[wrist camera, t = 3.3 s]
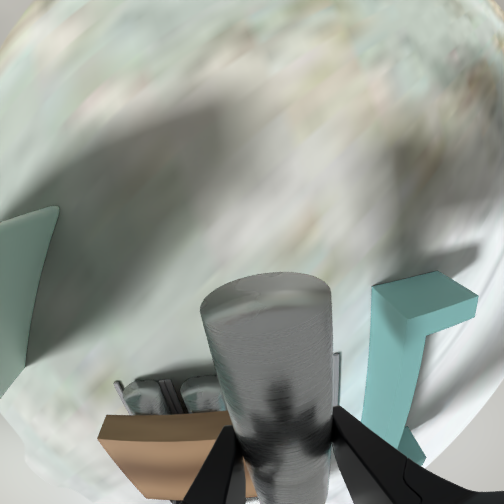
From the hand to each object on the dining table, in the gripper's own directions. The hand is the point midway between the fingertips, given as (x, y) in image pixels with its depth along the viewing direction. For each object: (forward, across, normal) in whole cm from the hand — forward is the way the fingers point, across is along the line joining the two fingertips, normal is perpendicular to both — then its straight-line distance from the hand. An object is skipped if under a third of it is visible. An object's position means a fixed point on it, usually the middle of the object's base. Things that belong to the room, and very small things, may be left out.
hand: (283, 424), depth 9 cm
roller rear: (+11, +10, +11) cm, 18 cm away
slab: (+7, +7, +11) cm, 15 cm away
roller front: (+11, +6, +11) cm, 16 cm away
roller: (+1, 0, 0) cm, 1 cm away
